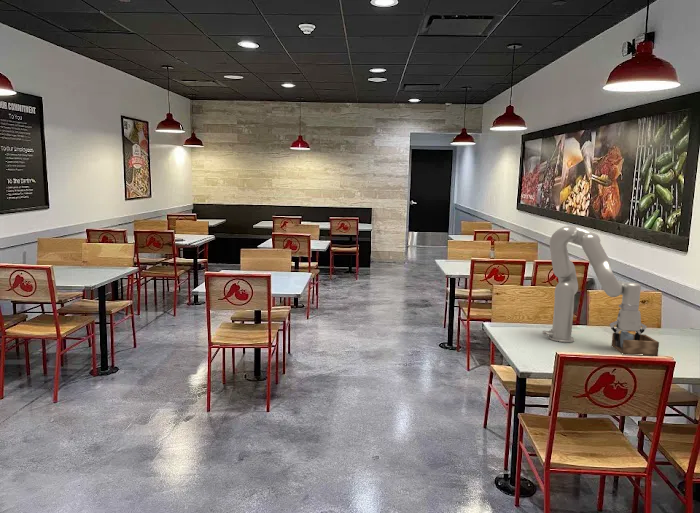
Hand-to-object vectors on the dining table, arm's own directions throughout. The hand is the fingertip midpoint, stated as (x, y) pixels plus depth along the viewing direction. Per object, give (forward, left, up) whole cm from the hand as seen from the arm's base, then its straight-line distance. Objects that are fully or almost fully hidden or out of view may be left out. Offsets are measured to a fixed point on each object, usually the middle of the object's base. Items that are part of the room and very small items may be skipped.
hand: (626, 341), depth 258 cm
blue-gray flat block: (0, 0, -4) cm, 4 cm away
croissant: (+10, +22, -5) cm, 25 cm away
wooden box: (+4, 0, -5) cm, 6 cm away
